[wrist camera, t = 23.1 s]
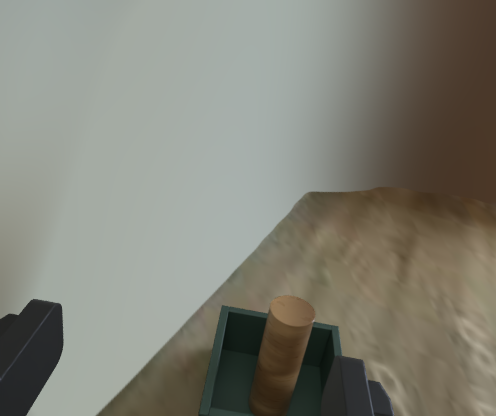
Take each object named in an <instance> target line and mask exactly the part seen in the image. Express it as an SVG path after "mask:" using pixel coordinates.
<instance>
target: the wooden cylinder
mask: <svg viewBox="0 0 496 416" xmlns="http://www.w3.org/2000/svg"><path fill="white" fill-rule="evenodd" d="M314 320H315V311H314V309H313V307H312V306H311V305H310V304H309V303H308V302H306V301H305V300H303V299H301V298H298V297H295V296H287V295H286V296H279V297H277V298H275V299H274V300H273V301H272V302H271V304H270V308H269V312H268V316H267V321H266V325H265V329H264V334H263V338H262V343H261V347H260V351H259V356H258V360H257V364H256V369H255V373H254V378H253V382H252V386H251V391H250V395H249V400H248V404H249V407H250V410H251V411H252V413H253V414H254V415H255V416H286V414H287V412H288V409H289V405H290V402H291V399H292V395H293V392H294V388H295V385H296V381H297V378H298V375H299V371H300V368H301V364H302V361H303V358H304V354H305V351H306V347H307V344H308V340H309V337H310V334H311V330H312V327H313V323H314Z"/></svg>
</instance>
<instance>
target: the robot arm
mask: <svg viewBox="0 0 496 416" xmlns="http://www.w3.org/2000/svg"><path fill="white" fill-rule="evenodd" d="M62 350H63V320H62V306H61V304H59V303H53V302H48V301H42V300H38V299H33V300H31V301H30V302H29V303H28V304H27V306H26V307H25V308H24V309H23V310H22V312H21V313H20V314H19V315H15V314H8V315H6V316H5V317H3V318H2V319H0V416H26V415H27V413H28V411H29V410H30V408H31V407H32V405H33V403H34V402H35V400H36V398H37V397H38V395H39V393H40V392H41V390H42V388H43V387H44V385H45V383H46V382H47V380H48V379H49V377H50V375H51V374H52V372H53V370H54V369H55V367H56V365H57V364H58V362H59V359H60V356H61V353H62ZM321 416H394V412H393V408H392V404H391V400H390V398H389V396H388V395H387V393H386V391H385V390H384V388H383V387H382V385H381V384H380V382H375V381H370V380H367V375H366V370H365V365H364V361H363V360H361V359H355V358H350V357H344V356H339V355H336V357H335V358H334V361H333V364H332V367H331V370H330V373H329V376H328V379H327V382H326V385H325V388H324V391H323V395H322V401H321Z"/></svg>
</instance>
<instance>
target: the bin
mask: <svg viewBox="0 0 496 416" xmlns="http://www.w3.org/2000/svg"><path fill="white" fill-rule="evenodd" d="M267 316H268V314H267V313H262V312H256V311H251V310H245V309H240V308H234V307H229V306H223V305H222V308H221V312H220V317H219V322H218V326H217V331H216V336H215V340H214V345H213V349H212V354H211V359H210V363H209V368H208V373H207V377H206V382H205V387H204V391H203V396H202V401H201V405H200V410H199V415H198V416H255V415H254V414H253V413H252V411H251V410H250V407H249V404H248V400H249V395H250V391H251V386H252V382H253V378H254V373H255V369H256V364H257V360H258V356H259V351H260V347H261V343H262V338H263V334H264V329H265V325H266V321H267ZM336 355H339V356H342V350H341V343H340V335H339V328H338V326H333V325H328V324H322V323H317V322H314V323H313V327H312V330H311V334H310V337H309V340H308V344H307V347H306V351H305V354H304V358H303V361H302V364H301V368H300V371H299V375H298V378H297V381H296V385H295V388H294V392H293V395H292V399H291V402H290V405H289V409H288V412H287V414H286V416H321V401H322V395H323V391H324V388H325V385H326V382H327V379H328V376H329V373H330V370H331V367H332V364H333V361H334V358H335V357H336Z"/></svg>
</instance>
